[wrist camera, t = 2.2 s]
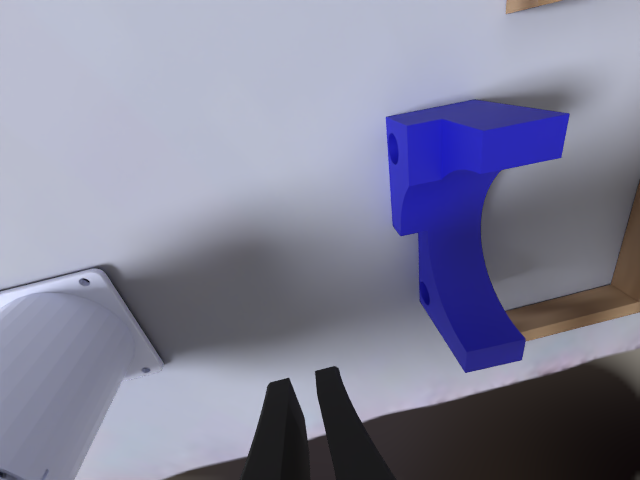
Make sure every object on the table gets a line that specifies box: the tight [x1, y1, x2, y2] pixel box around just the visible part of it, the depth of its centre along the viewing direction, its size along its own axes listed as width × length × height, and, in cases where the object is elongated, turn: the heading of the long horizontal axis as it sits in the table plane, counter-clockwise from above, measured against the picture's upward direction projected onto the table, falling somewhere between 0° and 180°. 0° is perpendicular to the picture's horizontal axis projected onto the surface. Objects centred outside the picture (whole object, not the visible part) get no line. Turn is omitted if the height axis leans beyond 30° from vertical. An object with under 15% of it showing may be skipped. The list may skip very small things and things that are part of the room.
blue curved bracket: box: [386, 100, 570, 373], centre depth 16 cm, size 12×4×6 cm, turn 10°
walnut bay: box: [505, 0, 640, 342], centre depth 18 cm, size 10×20×2 cm, turn 12°
